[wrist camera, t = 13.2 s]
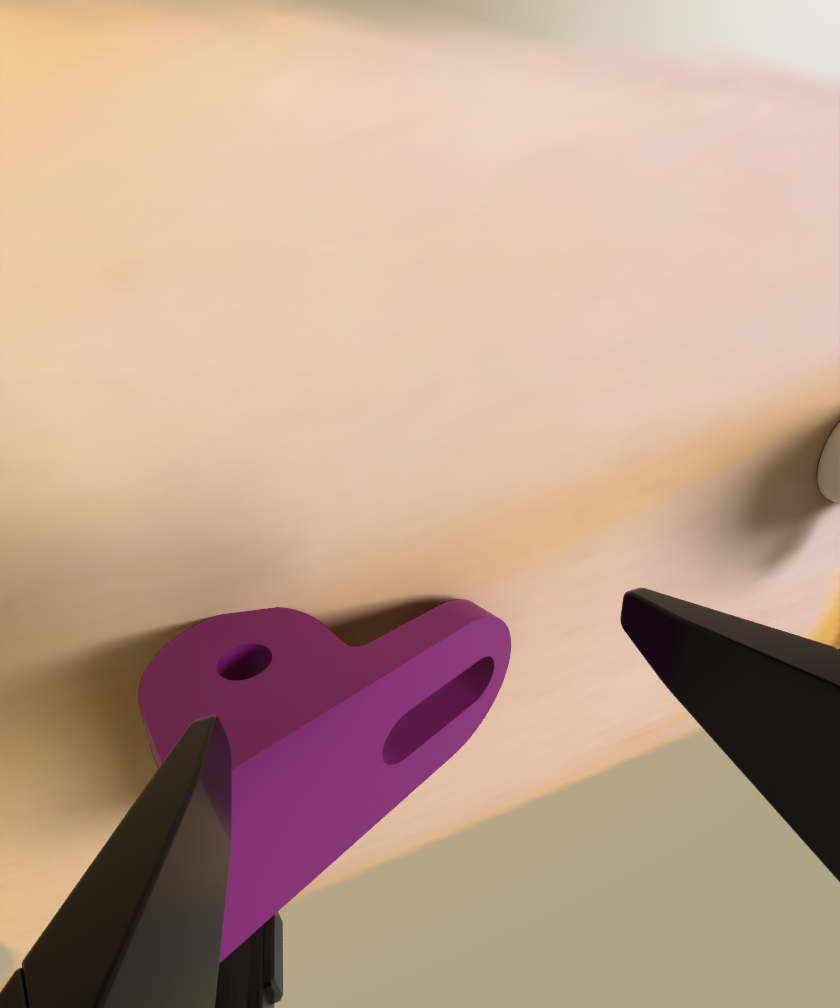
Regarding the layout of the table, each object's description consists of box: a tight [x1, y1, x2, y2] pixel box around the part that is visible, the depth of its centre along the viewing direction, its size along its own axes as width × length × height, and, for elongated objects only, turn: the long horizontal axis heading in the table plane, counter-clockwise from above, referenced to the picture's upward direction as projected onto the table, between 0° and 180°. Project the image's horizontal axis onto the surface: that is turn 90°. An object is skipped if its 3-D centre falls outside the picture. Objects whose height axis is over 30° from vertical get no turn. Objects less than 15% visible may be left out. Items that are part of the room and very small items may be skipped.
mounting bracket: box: [138, 599, 511, 963], centre depth 23 cm, size 10×8×18 cm
